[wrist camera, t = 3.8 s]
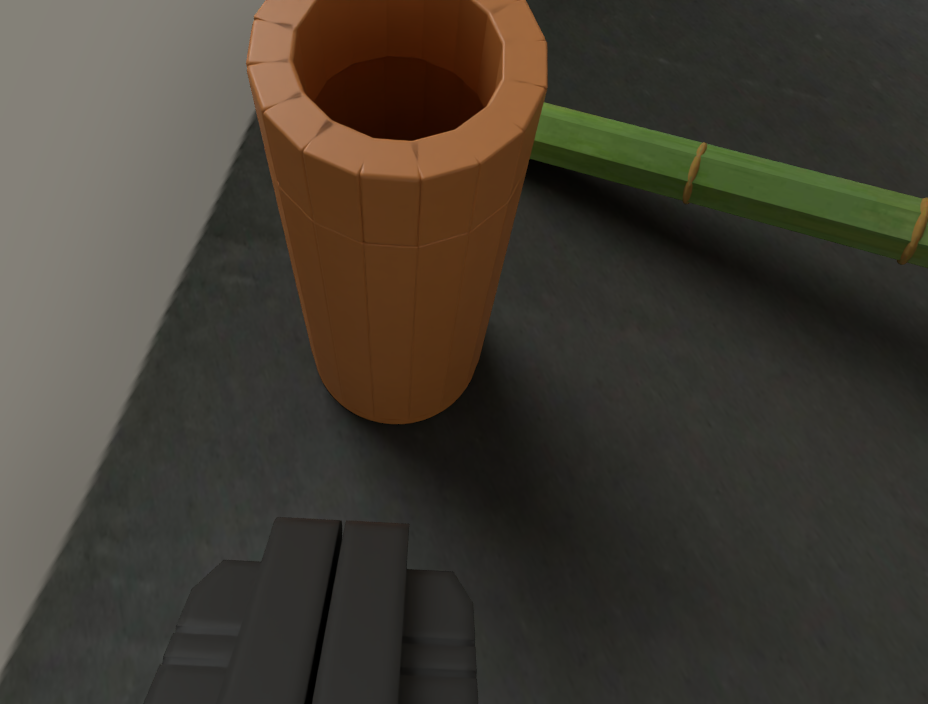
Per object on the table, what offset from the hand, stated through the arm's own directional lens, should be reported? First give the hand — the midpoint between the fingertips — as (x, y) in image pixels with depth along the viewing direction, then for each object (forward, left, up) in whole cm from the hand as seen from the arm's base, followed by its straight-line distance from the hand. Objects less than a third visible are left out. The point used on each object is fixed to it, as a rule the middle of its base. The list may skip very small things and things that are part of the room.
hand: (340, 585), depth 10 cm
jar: (+10, +4, -18) cm, 21 cm away
